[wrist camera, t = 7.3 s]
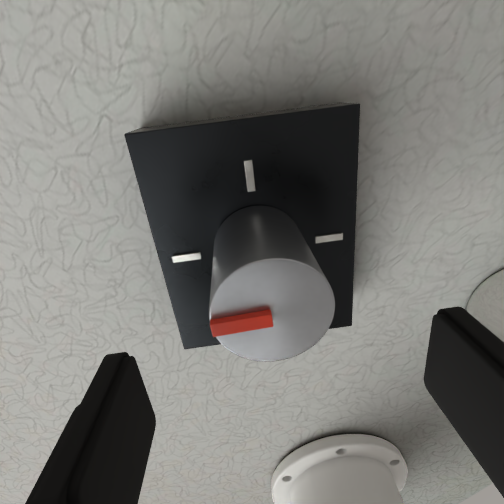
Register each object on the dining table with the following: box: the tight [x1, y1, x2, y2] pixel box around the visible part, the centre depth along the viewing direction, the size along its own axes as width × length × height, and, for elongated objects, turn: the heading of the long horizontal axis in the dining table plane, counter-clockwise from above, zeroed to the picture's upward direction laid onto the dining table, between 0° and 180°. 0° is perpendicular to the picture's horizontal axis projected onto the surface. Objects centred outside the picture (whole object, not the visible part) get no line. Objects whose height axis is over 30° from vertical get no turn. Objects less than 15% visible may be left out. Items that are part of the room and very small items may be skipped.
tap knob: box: [209, 205, 335, 362], centre depth 13 cm, size 4×4×6 cm
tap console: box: [125, 103, 360, 349], centre depth 17 cm, size 12×10×3 cm
